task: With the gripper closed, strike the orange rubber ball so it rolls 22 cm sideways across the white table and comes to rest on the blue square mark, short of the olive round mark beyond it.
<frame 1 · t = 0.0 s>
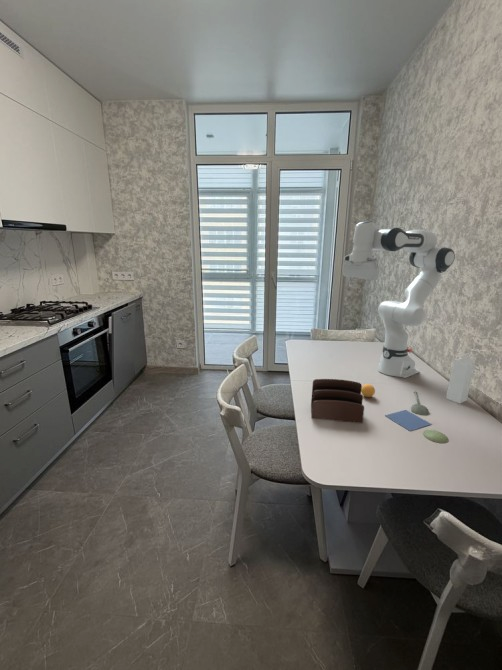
hand: (358, 287, 148), 48 cm above the table, tool pointing down, fingers open, 8 cm apart
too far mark: (435, 436, 113), on the table
letter holder: (335, 415, 127), on the table
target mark: (407, 420, 124), on the table
soupspoon: (417, 405, 137), on the table
ball: (368, 390, 142), on the table
milk: (456, 399, 142), on the table
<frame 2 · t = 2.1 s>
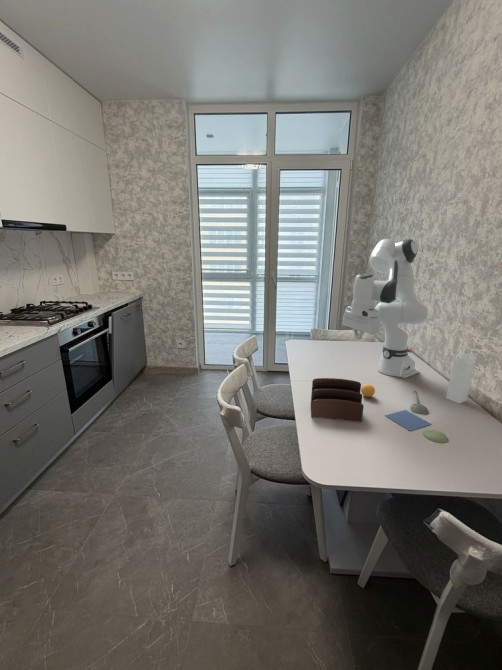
hand: (357, 338, 145), 25 cm above the table, tool pointing down, fingers closed
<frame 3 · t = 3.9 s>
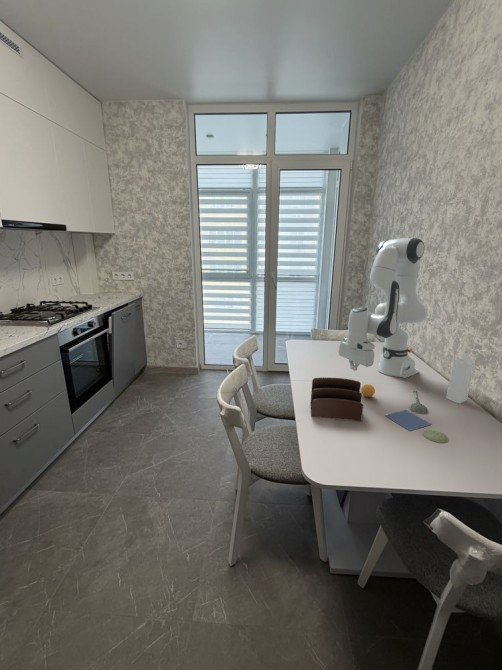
hand: (353, 369, 149), 10 cm above the table, tool pointing down, fingers closed
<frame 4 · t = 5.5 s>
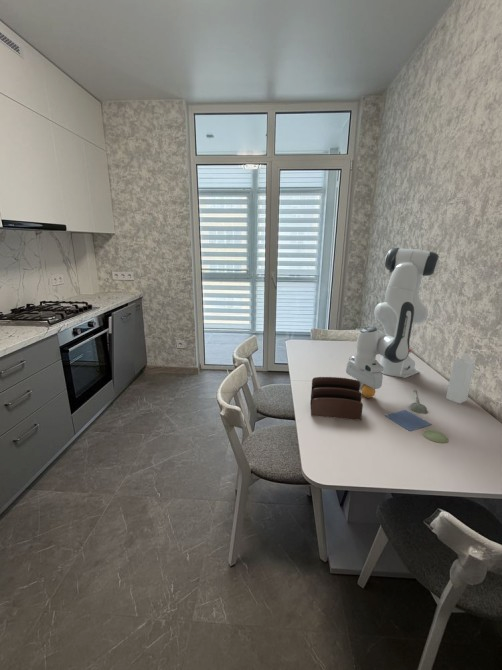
hand: (361, 389, 145), 2 cm above the table, tool pointing down, fingers closed, pressing on ball
ball: (368, 391, 142), on the table, touching gripper
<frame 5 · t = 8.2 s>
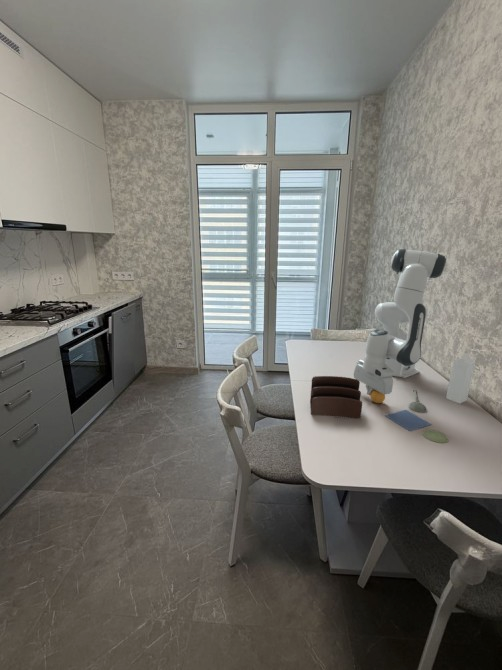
hand: (369, 394, 140), 2 cm above the table, tool pointing down, fingers closed
ball: (377, 396, 137), on the table, touching gripper
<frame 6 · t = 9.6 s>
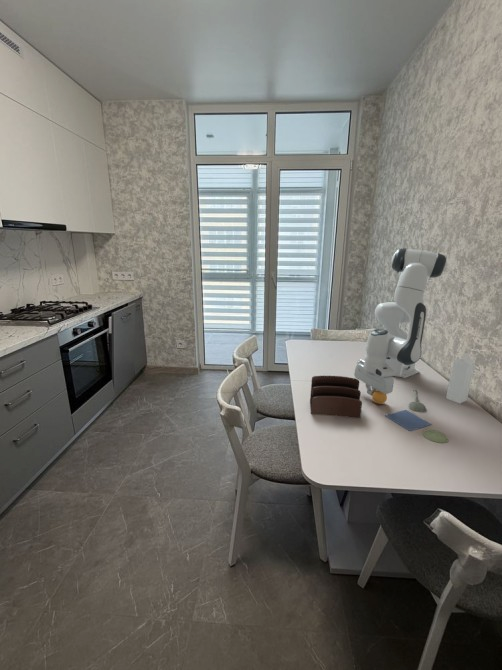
hand: (370, 394, 140), 2 cm above the table, tool pointing down, fingers closed
ball: (379, 396, 136), on the table
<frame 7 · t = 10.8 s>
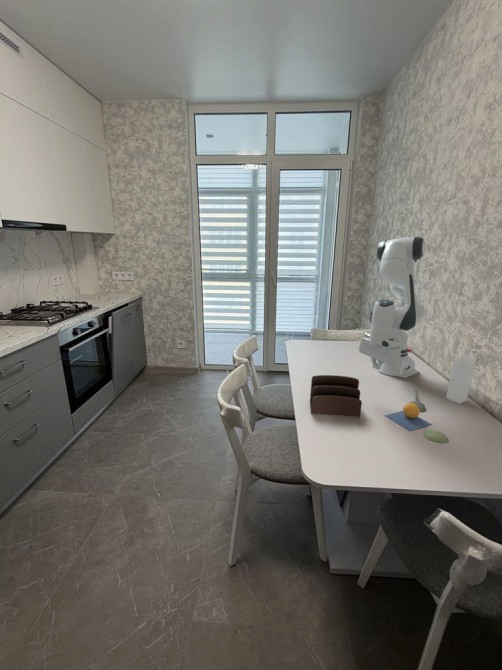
hand: (376, 368, 136), 15 cm above the table, tool pointing down, fingers closed
ball: (411, 410, 125), on the table
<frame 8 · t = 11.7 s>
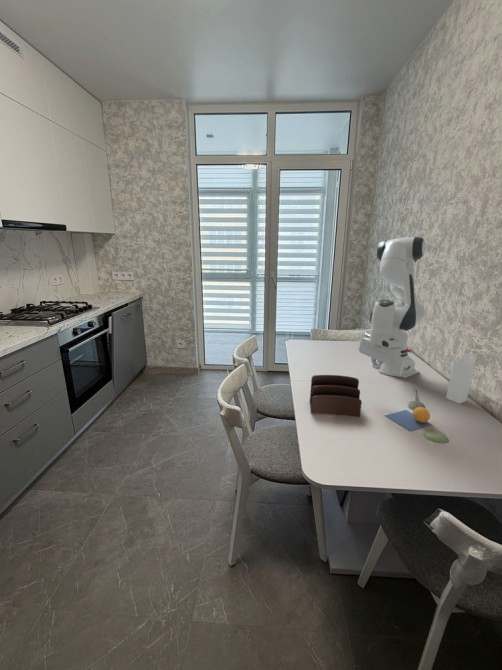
hand: (376, 368, 136), 15 cm above the table, tool pointing down, fingers closed
ball: (421, 414, 122), on the table
at the end: ball 4.7 cm from the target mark (horizontally); ball at rest at the end (1.0 cm/s); ball moved 25.1 cm from its start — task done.
